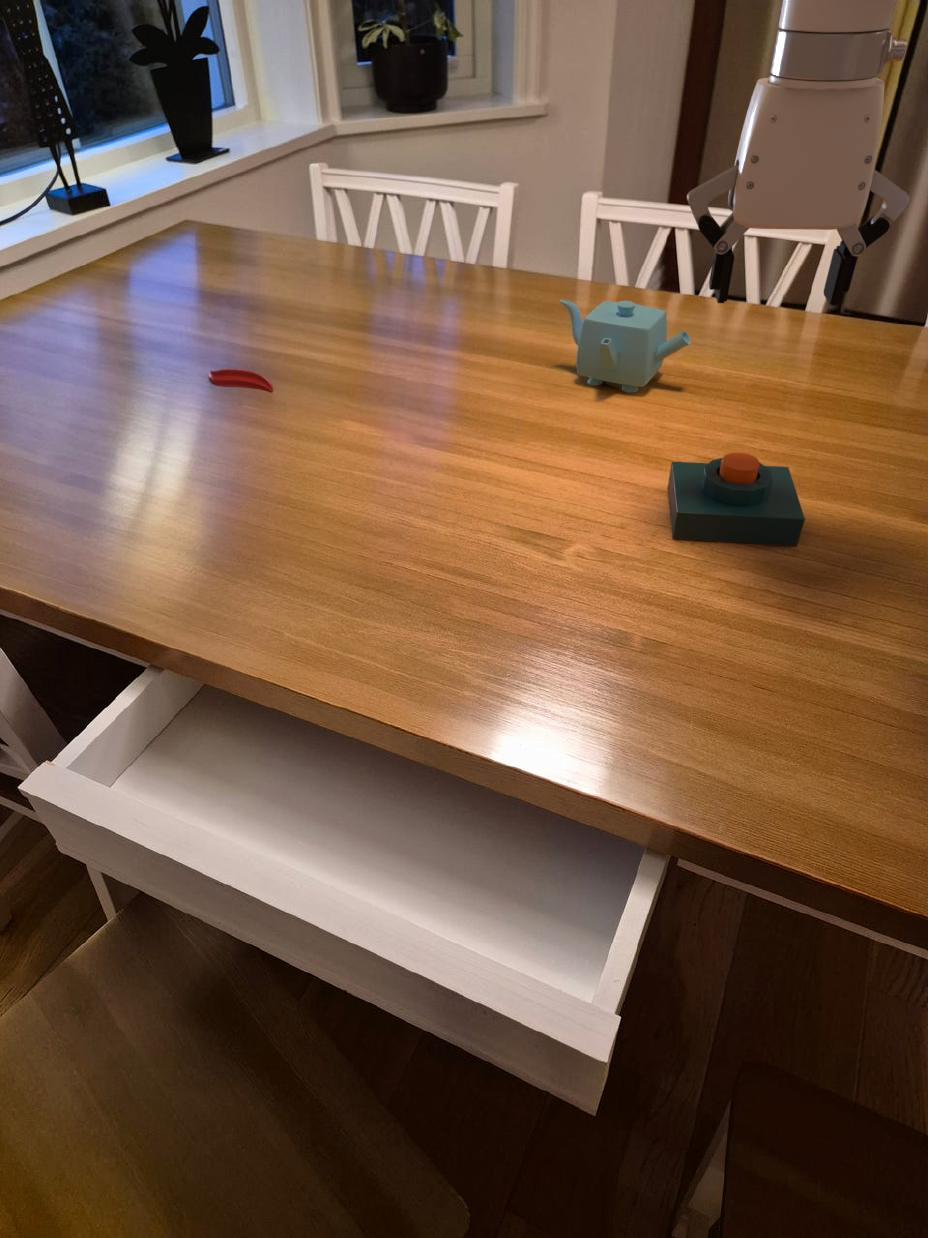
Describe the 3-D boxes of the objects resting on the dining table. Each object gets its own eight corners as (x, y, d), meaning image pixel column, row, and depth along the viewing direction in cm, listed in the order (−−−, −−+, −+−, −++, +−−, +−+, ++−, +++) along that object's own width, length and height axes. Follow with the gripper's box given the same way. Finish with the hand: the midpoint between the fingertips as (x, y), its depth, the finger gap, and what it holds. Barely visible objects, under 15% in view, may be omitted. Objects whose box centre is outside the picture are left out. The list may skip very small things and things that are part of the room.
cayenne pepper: (198, 377, 115) (195, 364, 114) (225, 366, 118) (222, 353, 117) (253, 400, 109) (250, 386, 108) (280, 388, 112) (278, 374, 111)
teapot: (696, 372, 113) (709, 297, 106) (664, 415, 103) (675, 335, 97) (573, 350, 120) (578, 278, 113) (532, 388, 110) (535, 312, 104)
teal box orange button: (781, 492, 89) (792, 451, 86) (797, 546, 81) (809, 502, 78) (667, 487, 90) (673, 445, 87) (672, 539, 83) (679, 496, 80)
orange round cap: (753, 468, 84) (757, 453, 83) (758, 486, 81) (762, 471, 80) (717, 466, 85) (720, 451, 83) (720, 485, 82) (723, 469, 81)
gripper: (936, 51, 62) (870, 286, 74) (700, 54, 65) (670, 282, 76) (969, 64, 57) (891, 317, 68) (708, 67, 59) (674, 312, 70)
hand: (775, 298), depth 72 cm, fingers open, 8 cm apart
